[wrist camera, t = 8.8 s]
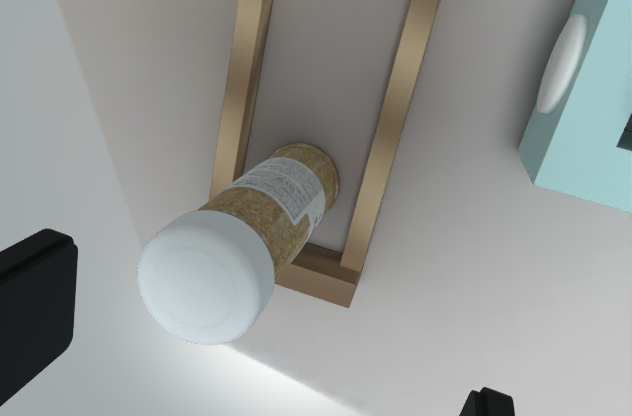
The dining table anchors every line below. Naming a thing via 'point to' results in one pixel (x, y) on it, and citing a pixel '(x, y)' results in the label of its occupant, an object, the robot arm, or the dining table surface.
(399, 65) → the oak rail
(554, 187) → the teal button box
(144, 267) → the sprinkles bottle
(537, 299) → the dining table surface
